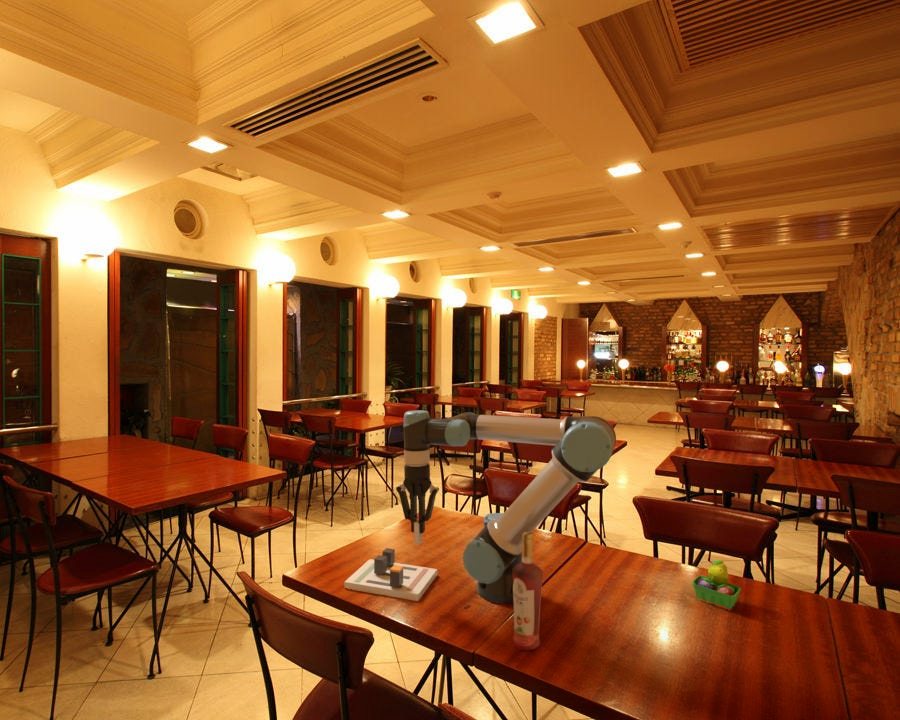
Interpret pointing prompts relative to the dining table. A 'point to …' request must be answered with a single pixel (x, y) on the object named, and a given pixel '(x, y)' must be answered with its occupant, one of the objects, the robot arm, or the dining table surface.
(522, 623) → the liquor
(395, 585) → the handle
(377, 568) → the handle middle
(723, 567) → the fruit basket
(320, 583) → the dining table surface
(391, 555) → the handle far
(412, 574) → the panel
